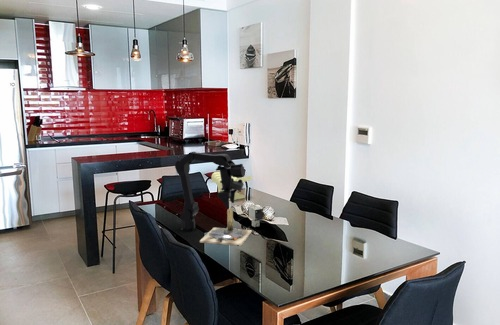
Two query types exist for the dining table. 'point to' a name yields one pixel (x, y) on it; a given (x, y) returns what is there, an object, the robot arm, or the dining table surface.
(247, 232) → the sprocket base
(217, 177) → the slatted curved stool
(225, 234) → the sprocket
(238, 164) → the robot arm
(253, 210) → the pneumatic valve
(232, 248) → the dining table surface
